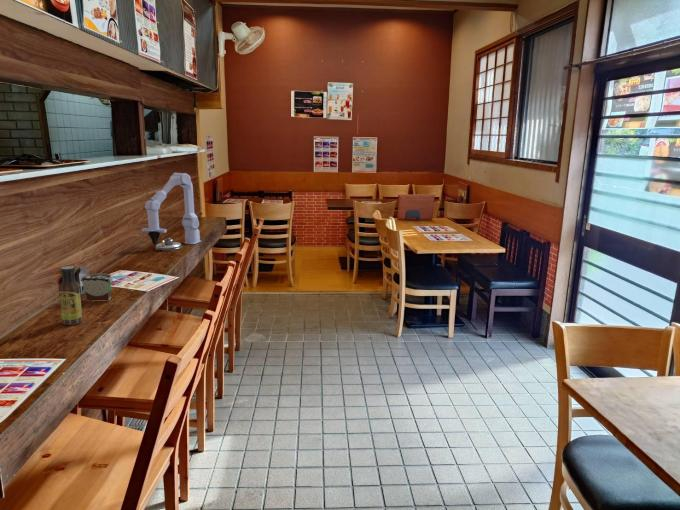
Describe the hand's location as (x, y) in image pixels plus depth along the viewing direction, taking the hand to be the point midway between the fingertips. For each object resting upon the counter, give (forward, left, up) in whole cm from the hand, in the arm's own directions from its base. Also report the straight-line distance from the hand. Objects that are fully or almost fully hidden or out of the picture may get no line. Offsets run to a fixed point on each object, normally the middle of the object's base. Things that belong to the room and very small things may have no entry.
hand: (155, 244), depth 277 cm
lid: (-6, +5, -1) cm, 8 cm away
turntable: (-6, +5, -2) cm, 8 cm away
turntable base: (-6, +5, -3) cm, 9 cm away
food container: (+86, +28, -4) cm, 91 cm away
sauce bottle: (+111, +35, -4) cm, 117 cm away
